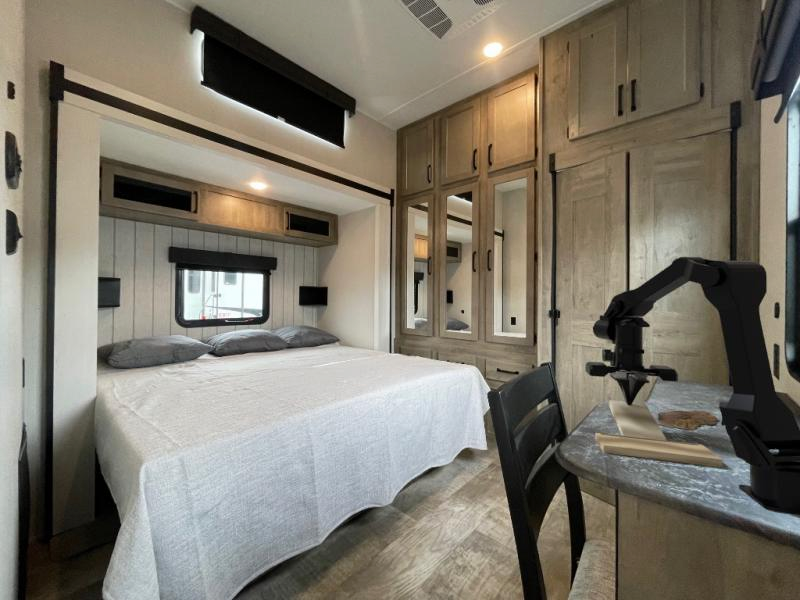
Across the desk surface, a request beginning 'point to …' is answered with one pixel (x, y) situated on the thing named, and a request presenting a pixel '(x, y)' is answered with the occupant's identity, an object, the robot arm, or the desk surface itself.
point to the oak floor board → (657, 449)
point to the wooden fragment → (686, 419)
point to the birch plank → (635, 420)
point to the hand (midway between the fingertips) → (628, 404)
